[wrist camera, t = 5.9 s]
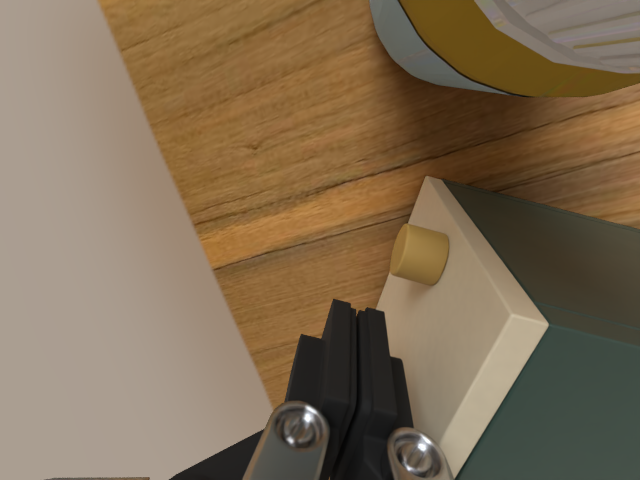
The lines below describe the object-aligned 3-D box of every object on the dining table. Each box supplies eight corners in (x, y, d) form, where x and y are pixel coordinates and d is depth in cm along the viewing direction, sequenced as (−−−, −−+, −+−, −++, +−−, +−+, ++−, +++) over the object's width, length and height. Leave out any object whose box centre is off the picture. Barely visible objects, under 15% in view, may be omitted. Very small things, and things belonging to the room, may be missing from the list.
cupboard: (360, 392, 24) (358, 646, 13) (440, 177, 18) (550, 324, 7) (516, 432, 24) (639, 719, 13) (645, 230, 18) (1047, 452, 7)
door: (322, 385, 23) (291, 628, 13) (396, 167, 18) (443, 295, 7) (357, 394, 24) (353, 646, 13) (442, 179, 18) (551, 325, 7)
